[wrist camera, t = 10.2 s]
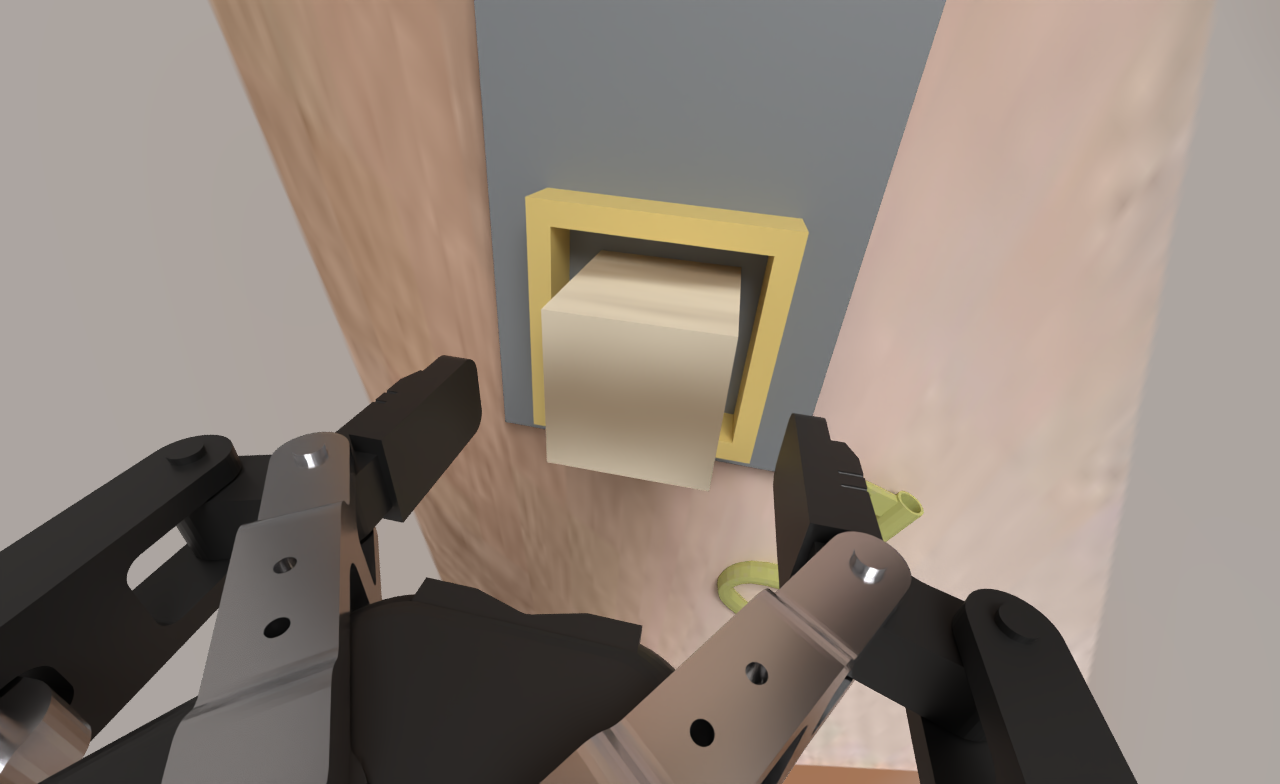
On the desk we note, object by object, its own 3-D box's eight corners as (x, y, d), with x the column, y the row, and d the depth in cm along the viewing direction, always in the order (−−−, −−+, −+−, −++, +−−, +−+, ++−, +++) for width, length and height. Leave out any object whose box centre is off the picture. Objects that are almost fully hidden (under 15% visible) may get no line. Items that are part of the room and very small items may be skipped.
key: (920, 471, 21) (935, 505, 19) (834, 635, 28) (839, 672, 26) (753, 439, 22) (754, 469, 20) (708, 606, 29) (705, 640, 27)
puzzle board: (467, -345, 12) (390, -469, 9) (1046, -354, 10) (1144, -505, 8) (514, 410, 23) (485, 447, 21) (791, 460, 22) (797, 507, 19)
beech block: (601, 250, 18) (541, 309, 12) (741, 267, 17) (738, 337, 12) (597, 371, 20) (546, 462, 15) (719, 390, 19) (708, 491, 14)
